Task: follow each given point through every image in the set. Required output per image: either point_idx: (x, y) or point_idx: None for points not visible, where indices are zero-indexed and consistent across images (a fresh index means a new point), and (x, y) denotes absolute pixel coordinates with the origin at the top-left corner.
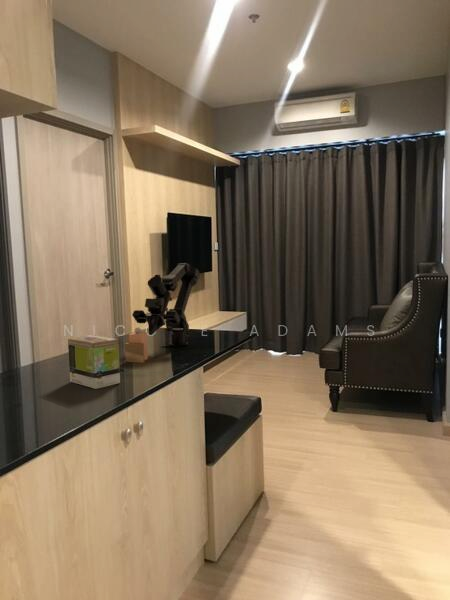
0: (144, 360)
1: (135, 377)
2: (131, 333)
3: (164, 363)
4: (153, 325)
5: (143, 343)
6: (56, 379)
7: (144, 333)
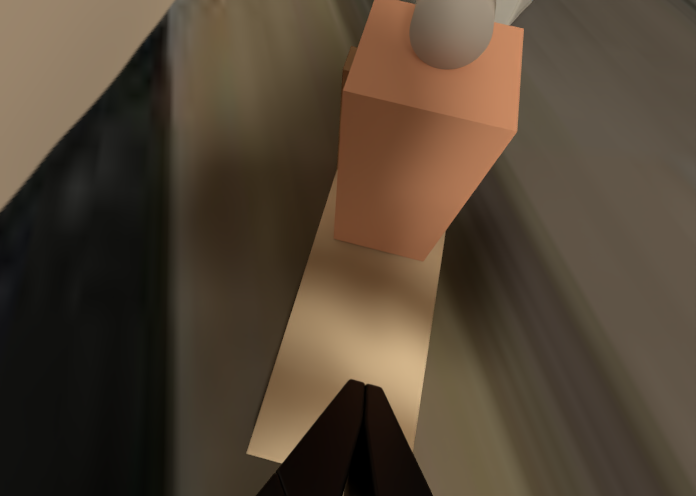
0: (337, 161)
1: (328, 6)
2: (518, 64)
3: (220, 218)
4: (303, 490)
5: (345, 67)
6: (626, 12)
7: (357, 49)
